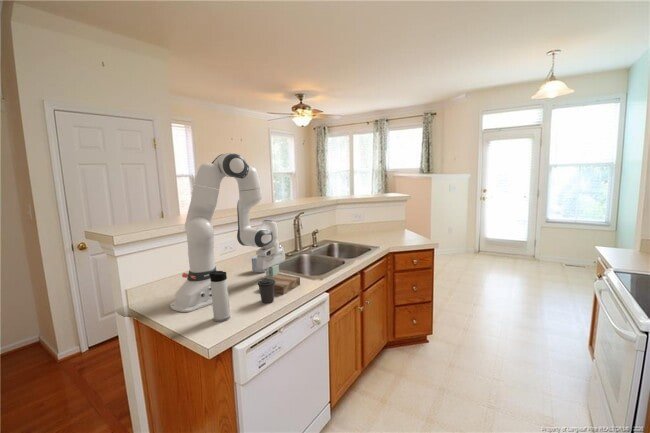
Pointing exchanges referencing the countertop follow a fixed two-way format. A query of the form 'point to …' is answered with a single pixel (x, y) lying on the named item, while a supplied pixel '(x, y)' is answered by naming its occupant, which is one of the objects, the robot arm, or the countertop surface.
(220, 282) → the travel mug
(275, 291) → the walnut base
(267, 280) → the coffee cup
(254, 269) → the medicine box
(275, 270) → the sage block
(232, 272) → the countertop surface
